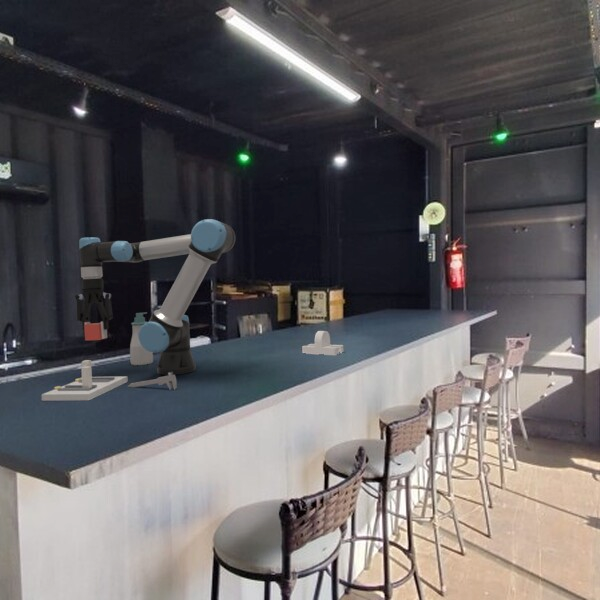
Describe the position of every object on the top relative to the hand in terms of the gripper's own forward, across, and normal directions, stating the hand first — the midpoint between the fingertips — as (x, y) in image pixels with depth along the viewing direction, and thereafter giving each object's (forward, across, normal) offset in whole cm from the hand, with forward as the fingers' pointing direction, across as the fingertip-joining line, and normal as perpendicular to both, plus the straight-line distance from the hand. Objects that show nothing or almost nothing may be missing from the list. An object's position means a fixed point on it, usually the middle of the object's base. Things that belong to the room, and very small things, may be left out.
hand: (96, 338), depth 182 cm
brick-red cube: (0, 0, 0) cm, 0 cm away
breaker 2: (+14, -10, +25) cm, 30 cm away
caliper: (+17, -28, +16) cm, 36 cm away
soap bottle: (+16, -3, -30) cm, 34 cm away
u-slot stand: (+17, -84, -52) cm, 100 cm away
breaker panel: (+16, -6, +19) cm, 26 cm away
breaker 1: (+13, -3, +13) cm, 19 cm away
